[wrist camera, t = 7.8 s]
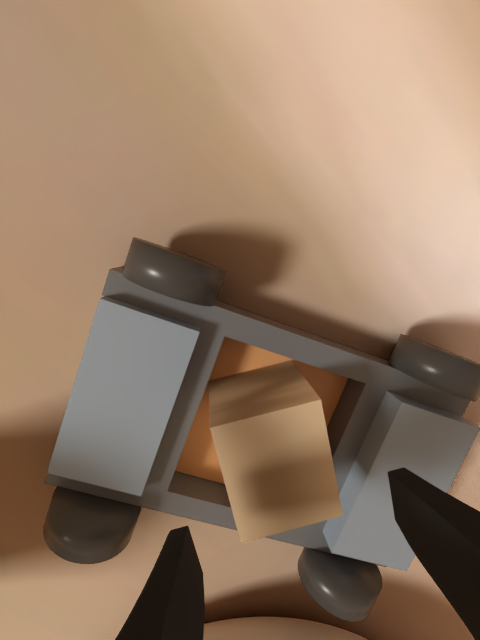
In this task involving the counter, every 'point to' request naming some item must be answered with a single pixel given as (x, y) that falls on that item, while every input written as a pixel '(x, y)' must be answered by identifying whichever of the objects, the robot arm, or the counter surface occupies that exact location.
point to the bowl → (274, 630)
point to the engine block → (273, 450)
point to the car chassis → (196, 439)
